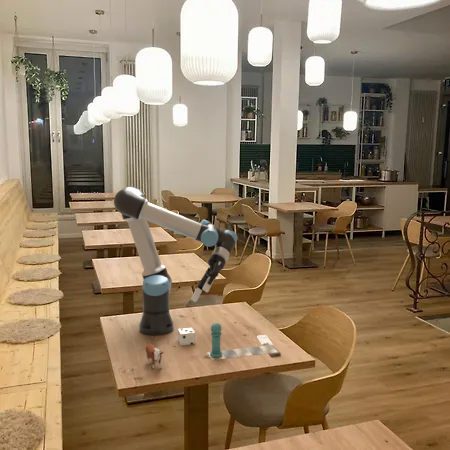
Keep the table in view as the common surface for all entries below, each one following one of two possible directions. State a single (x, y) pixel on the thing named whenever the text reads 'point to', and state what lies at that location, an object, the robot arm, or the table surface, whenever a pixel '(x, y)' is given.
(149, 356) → the bull figurine
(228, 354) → the board
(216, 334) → the pawn
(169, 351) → the table surface
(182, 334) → the die
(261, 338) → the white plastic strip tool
